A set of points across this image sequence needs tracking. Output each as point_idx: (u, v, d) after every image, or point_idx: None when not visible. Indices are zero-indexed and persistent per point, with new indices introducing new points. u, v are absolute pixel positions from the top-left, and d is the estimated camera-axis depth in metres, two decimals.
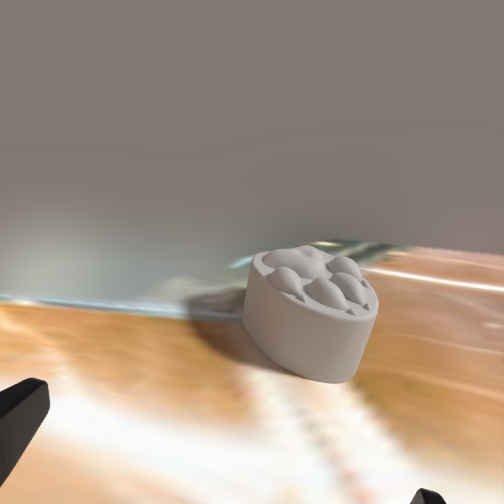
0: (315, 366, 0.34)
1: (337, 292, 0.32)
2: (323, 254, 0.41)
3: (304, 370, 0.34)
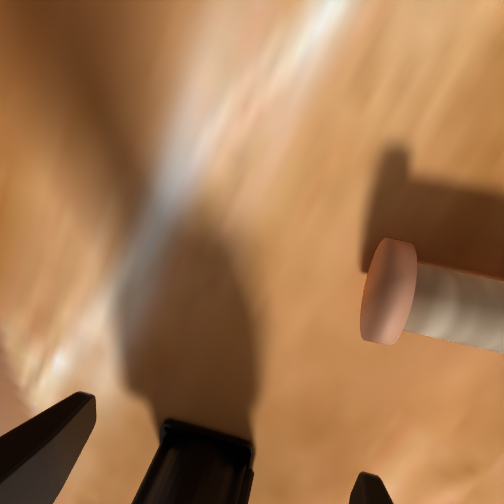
0: None
1: None
2: None
3: None
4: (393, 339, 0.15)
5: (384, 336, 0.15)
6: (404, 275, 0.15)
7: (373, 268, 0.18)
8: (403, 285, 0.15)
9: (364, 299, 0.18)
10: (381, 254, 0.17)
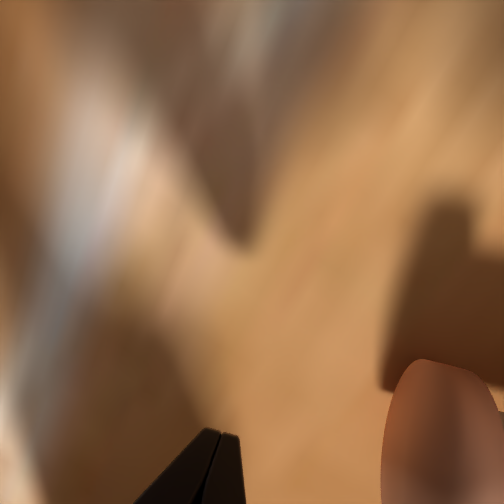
0: None
1: None
2: None
3: None
4: None
5: None
6: (484, 479, 0.07)
7: (405, 401, 0.10)
8: (482, 502, 0.07)
9: (388, 448, 0.11)
10: (423, 391, 0.09)
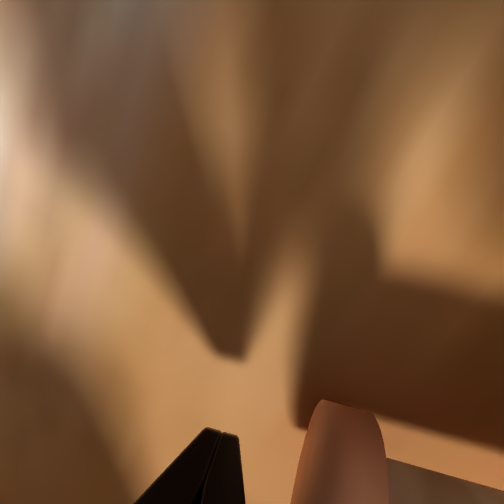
0: None
1: None
2: None
3: None
4: None
5: None
6: None
7: (309, 448, 0.09)
8: None
9: (293, 499, 0.09)
10: (318, 441, 0.08)
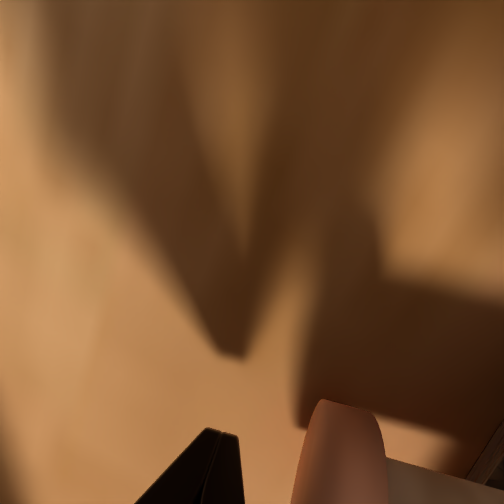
0: None
1: None
2: None
3: None
4: None
5: None
6: None
7: (309, 447, 0.09)
8: None
9: (293, 498, 0.09)
10: (318, 440, 0.08)
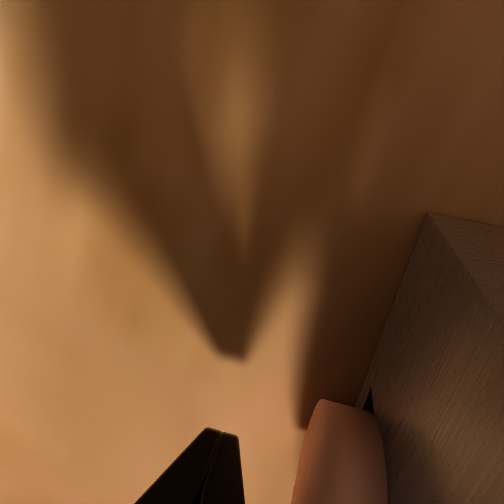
0: None
1: None
2: None
3: None
4: None
5: None
6: None
7: (308, 447, 0.09)
8: None
9: (294, 499, 0.09)
10: (318, 440, 0.08)
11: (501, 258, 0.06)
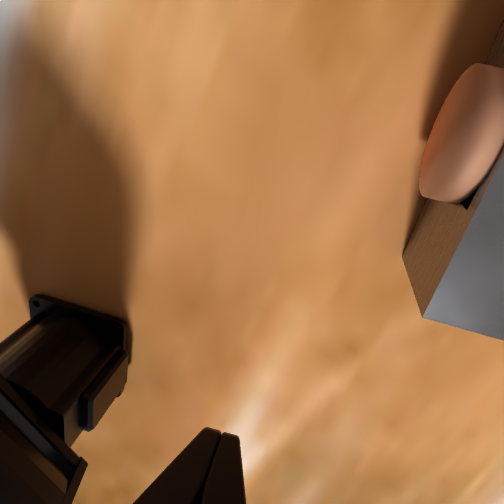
0: None
1: None
2: None
3: None
4: (477, 181, 0.12)
5: (466, 176, 0.12)
6: (503, 89, 0.11)
7: (441, 120, 0.15)
8: (501, 100, 0.11)
9: (426, 162, 0.15)
10: (458, 92, 0.14)
11: None
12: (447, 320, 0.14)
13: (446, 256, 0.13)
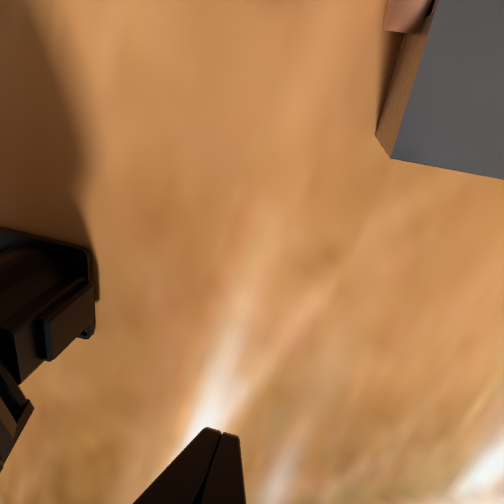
0: None
1: None
2: None
3: None
4: None
5: None
6: None
7: None
8: None
9: None
10: None
11: None
12: (418, 157, 0.12)
13: (411, 77, 0.11)
